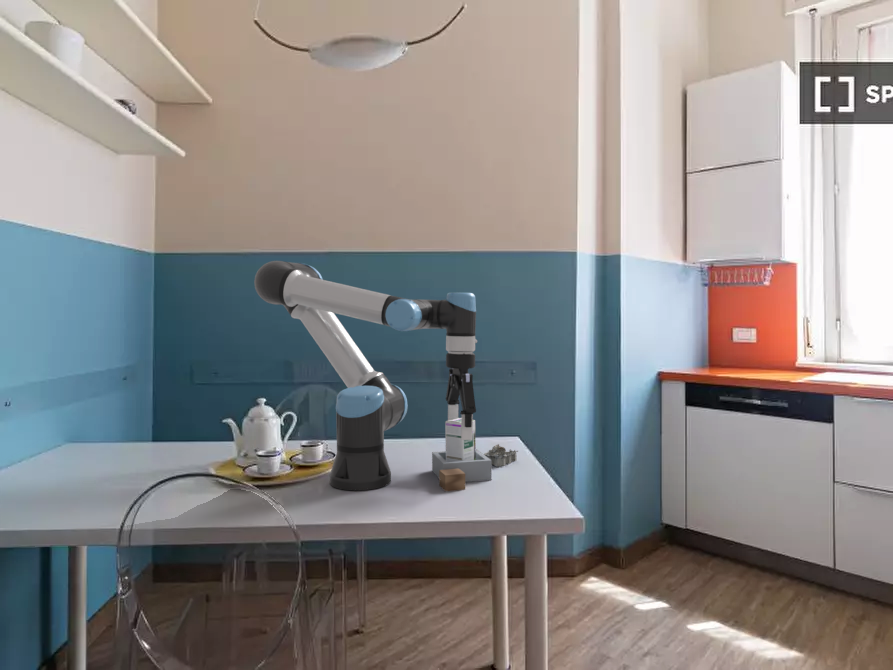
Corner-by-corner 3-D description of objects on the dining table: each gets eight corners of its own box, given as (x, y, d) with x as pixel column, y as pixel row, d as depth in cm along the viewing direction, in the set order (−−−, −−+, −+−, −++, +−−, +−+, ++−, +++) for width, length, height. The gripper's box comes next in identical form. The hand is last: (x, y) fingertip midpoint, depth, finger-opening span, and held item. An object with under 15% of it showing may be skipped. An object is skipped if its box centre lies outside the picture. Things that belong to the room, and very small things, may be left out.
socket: (443, 483, 158) (443, 463, 157) (432, 470, 170) (432, 452, 169) (491, 479, 161) (491, 460, 160) (477, 467, 173) (477, 449, 173)
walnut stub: (445, 491, 151) (445, 475, 151) (439, 486, 156) (439, 470, 156) (465, 489, 153) (465, 473, 152) (458, 484, 157) (458, 468, 157)
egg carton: (498, 457, 186) (498, 443, 186) (521, 461, 181) (521, 446, 181) (478, 464, 177) (478, 449, 177) (501, 468, 173) (501, 453, 172)
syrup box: (463, 479, 161) (463, 422, 161) (444, 475, 165) (444, 420, 164) (476, 474, 166) (476, 419, 165) (458, 470, 169) (458, 416, 169)
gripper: (489, 356, 152) (488, 444, 154) (461, 348, 177) (460, 424, 178) (459, 356, 151) (458, 445, 152) (435, 348, 175) (434, 425, 176)
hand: (459, 434), depth 165 cm, fingers open, 13 cm apart
